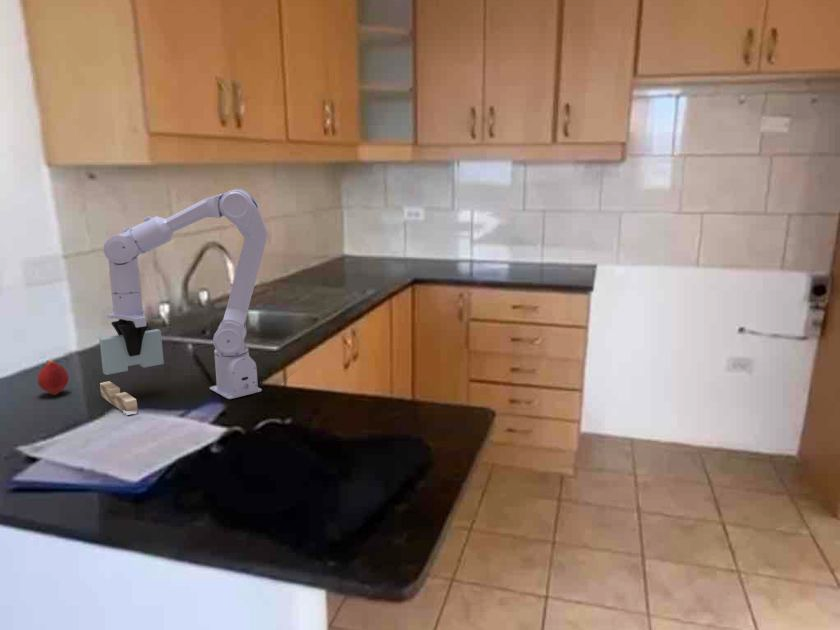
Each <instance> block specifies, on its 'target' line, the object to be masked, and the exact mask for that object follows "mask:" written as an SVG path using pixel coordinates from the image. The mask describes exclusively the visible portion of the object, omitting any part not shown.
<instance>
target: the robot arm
mask: <svg viewBox="0 0 840 630" xmlns="http://www.w3.org/2000/svg"><path fill="white" fill-rule="evenodd" d="M222 217H225V219H226V220H228V221H230V222H231V223H232V224H233V225H234V226H236V228H237V229H238V231H239V232H240V234H241V235H242V237H243V243H242V246H241V247H242V248H241V251H240V254H239V257H238V261H237V262H238V263H237V265H236V266H237V267H236V271H235V274H234V278H233V281H232V284H231V285H232V286H231V290H230V293H229V297H228V301H227V305H226V308H225V312H224V316H223V318H222V321H221V322H220V323H219V325H218V326H217V330H216V332H215V333H213V339H212V343H213V347H214V348H215V349H214V351H213V352H214V364H215V365H214V366H215V377H216V378H215V379H216V380H215V381H216V384H215V385H212V386H210V387H209V390H211V391H213V392H214V393H216V394H218V395H220V396H222V397H223V398H225V399H227V400H232V399H236V398H240V397H241V398H242V397H244V396H247V395H248V396H249V395H252V394H256V393H260V392H262V390H263V389H262V388H260V387H259V386H258V385H259V384H258V370H257V369H258V366H257V363H256V361H255V360H254V359H253V358H252V357H251V356H250V352H249V346H248V345H247V344H246V343H245V339H246V337H247V332H248V331H247V327H246V319H247V315H248V311H249V307H250V303H251V300H252V296H253V292H254V288H255V286H256V280H257V278H258V274H259V269H260V266H261V262H262V259H263V255H264V251H265V247H266V243H267V240H268V237H269V236H268V234H269V232H268V229H267V227H266V224H265V221H264V218H263V215H262V212H261V209H260V206H259V203H258V202H257V201H256V199H254V197H253V196H252V195H251V194H250V193H249V192H248V191H246V190H244V189H241V188H236V189H233V190H232V189H231V190H229V191H227V192H225V193H220V194H216V195H213V196H210V197H207V198H203V199H202V200H200V201H198V202H196V203H194V204H192V205H190V206H188V207H186V208H185V209H182V210H181V211H179V212H177V213H175V214H173V215H171V216H169V217H167V218H163V217H161V216H158V215H157V216H156V215H155V216H153V217H152V216H150V215H149V216H146V217H145V218H143V222H141V223H139V224H136V225H135V226H133V227H130V228H129V227H125V228H122V232H123V233H118V234H114V235H112V236H111V237H109V238H108V239H107V240H106V241H105V243H104V245H103V254H104V256H105V257H106V259H107V260H108V266H109V267H108V268H109V272H108V273H109V282H110V292H111V300H112V307H111V308H112V312H111V313H107V318H109V319H117V320H114V321H111V325H112V327H113V328H114V330H115V332H116V333H117V335H123V337H124V340H125V343H126V347H127V351H128V354H129V356H136V355H140V353H141V347H142V341H143V336H144V333H145V331H147V329H148V327H149V324H148V322H147V318H146V316H145V310H144V307H143V305H144V304H143V294H142V286H141V274H140V269H139V268H140V267H139V262H138V261H139V259H138V257H139V256H140V255H145V254H146V253H149V252H151V251H152V250H154V249H157V248H159V247H161V246H163V245H165V244H167V243H169V242H171V240H172V239H173V235H174V232H176V231H178V230H182V229H183V228H186V227H188V226H190V225H192V224H194V223H196V222H199V221H201V220H203V219H205V218H215V219H220V218H222Z"/></svg>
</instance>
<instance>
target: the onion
mask: <svg viewBox="0 0 840 630" xmlns="http://www.w3.org/2000/svg"><path fill="white" fill-rule="evenodd" d="M69 378H70V377H69V374H68V371H67V370H66V368H64V366H62V365H60V364H59V363H57V362H55V361H53V360H52V359H48V360H47V361H46V365H44V366H43V367H42V368H41V369H40V371H39V372H38V375H37V383H38V386H39V387H40V389H42V390H44V391H45V392H47V393H49V394H50V395H52V396H57V395H58V394H59V393H61V392H62V391H63V390H64V389H65V388H66V387H67V385H68V383H69Z"/></svg>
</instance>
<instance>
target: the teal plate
mask: <svg viewBox="0 0 840 630" xmlns="http://www.w3.org/2000/svg"><path fill="white" fill-rule="evenodd" d="M99 346H100V355H101V356H100V357H101V365H102V374H104V375H106V376H107V375H114V374H117V373H123V372H128V371H129V367H131V366H136V365H139V366H140V367H142V368H149V367H150V368H151V367H154V366H158V365H164V364H165V361H164V351H163V350H164V349H163V338H162V330H160V329H158V328H156V329H150V330H146V331H145V333H144V336H143V341H142V347H141V353H140V355H136V356H129V354H128V351H127V347H126V343H125V340H124V337H123V335H118V334H117V335H113V336H105V337H100V338H99Z"/></svg>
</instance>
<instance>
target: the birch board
mask: <svg viewBox="0 0 840 630" xmlns="http://www.w3.org/2000/svg"><path fill="white" fill-rule="evenodd" d="M99 387H100V396H101V397H102V398H103V399H104V400H105V401H106V402H108V403H110V404H111V405H113V407H115V408H116V409H117V408H119V409H122V410H125V411H139V409H138V402H137V398H135V397H133V396H132V395H131V394H129V393H128V392H126V391H123V392H121V388H120V387H119V386H118V385H116V384H114V383H113V382H111V381H110V380H109V381H103V382H100V383H99ZM119 409H118V410H119Z"/></svg>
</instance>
